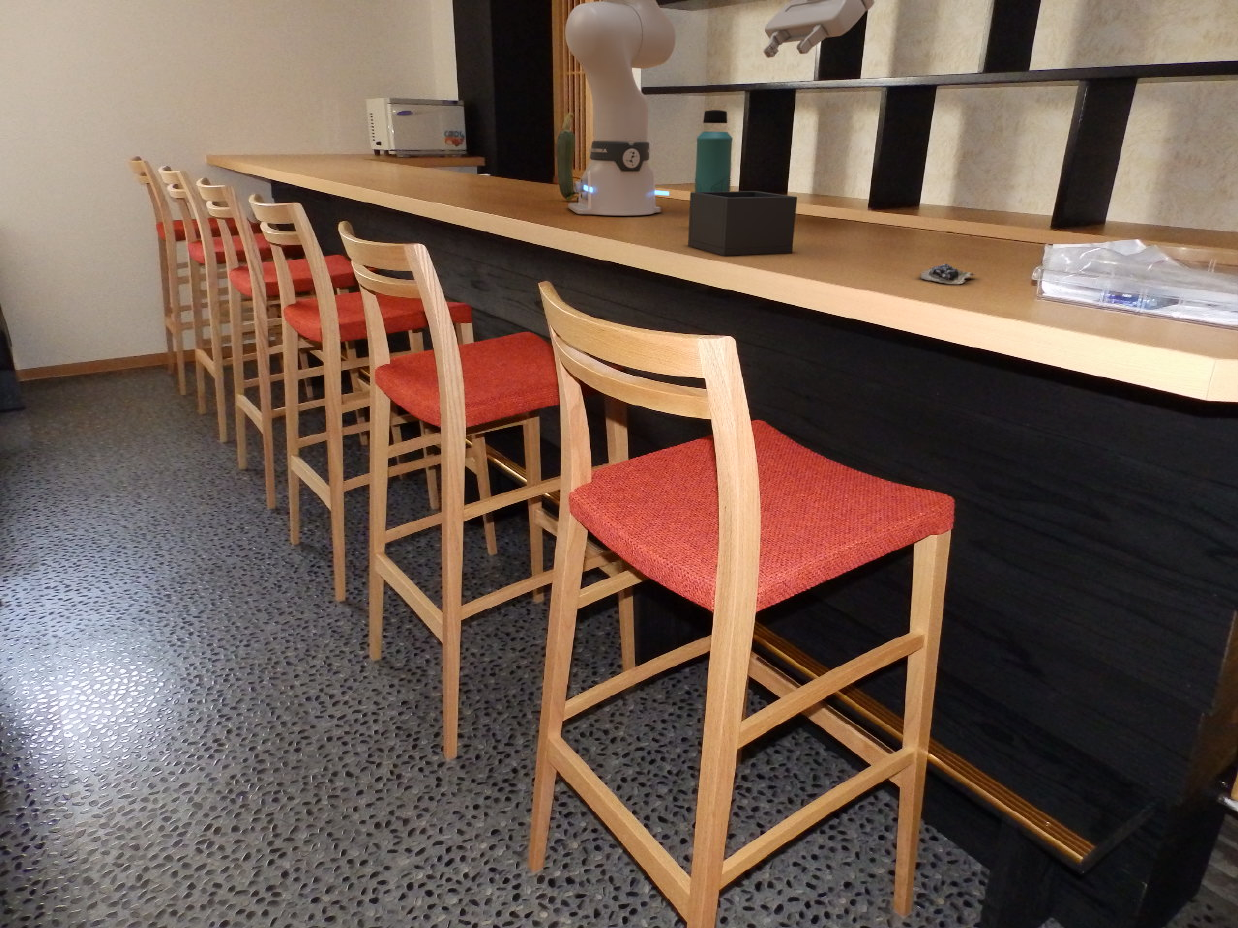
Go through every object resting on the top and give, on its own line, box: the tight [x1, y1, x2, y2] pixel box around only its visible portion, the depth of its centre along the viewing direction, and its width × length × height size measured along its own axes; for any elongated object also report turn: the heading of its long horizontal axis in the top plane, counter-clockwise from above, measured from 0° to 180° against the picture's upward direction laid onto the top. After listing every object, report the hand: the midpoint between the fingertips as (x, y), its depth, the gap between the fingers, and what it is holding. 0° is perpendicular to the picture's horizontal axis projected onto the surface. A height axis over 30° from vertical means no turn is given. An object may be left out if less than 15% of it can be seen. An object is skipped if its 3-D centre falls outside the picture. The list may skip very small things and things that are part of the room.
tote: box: [687, 190, 798, 257], centre depth 127 cm, size 12×12×8 cm
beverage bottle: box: [694, 109, 733, 192], centre depth 149 cm, size 6×7×20 cm
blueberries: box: [920, 263, 975, 285], centre depth 105 cm, size 7×8×2 cm
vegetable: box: [556, 111, 576, 202], centre depth 200 cm, size 4×4×20 cm
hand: (783, 53), depth 147 cm, fingers open, 8 cm apart
